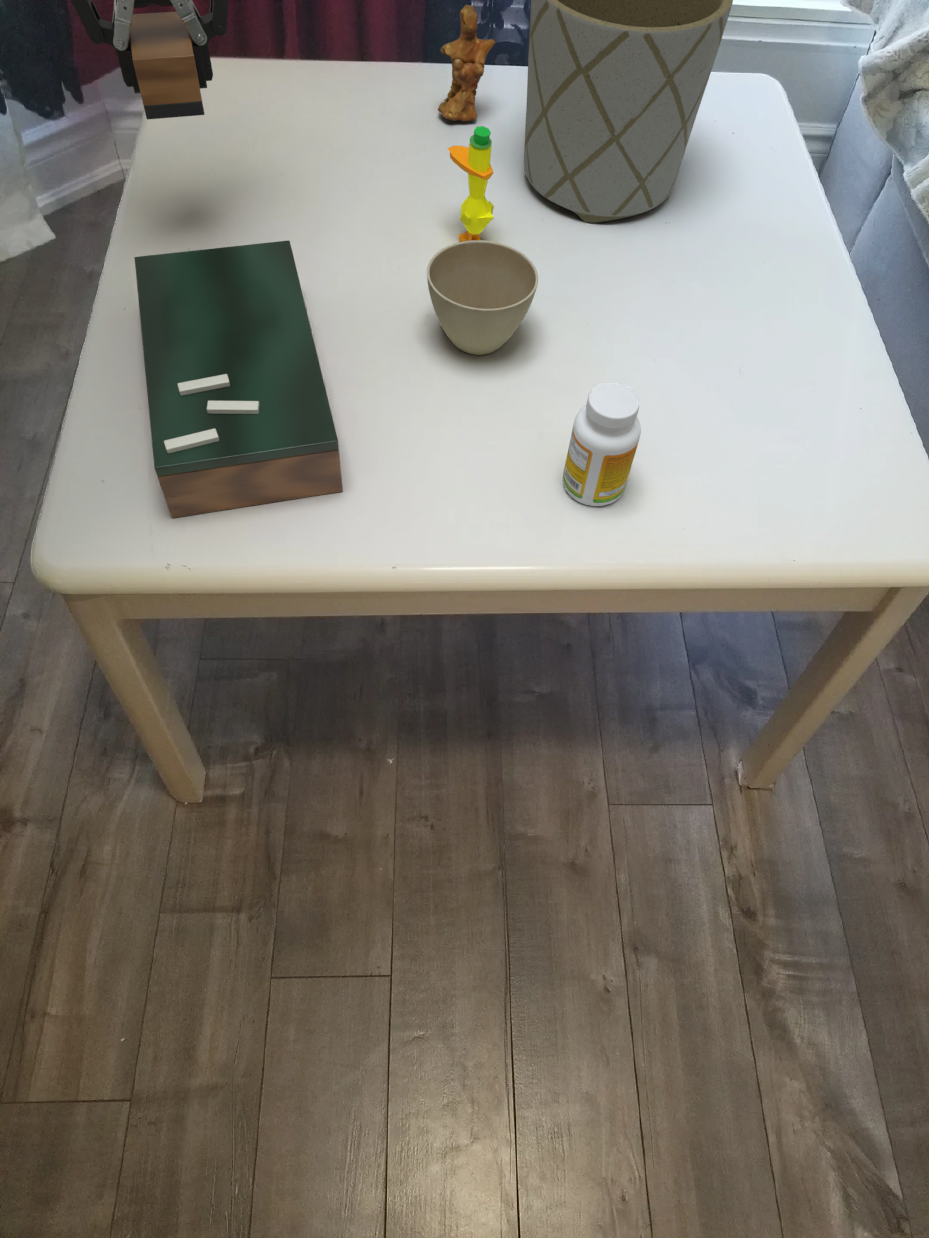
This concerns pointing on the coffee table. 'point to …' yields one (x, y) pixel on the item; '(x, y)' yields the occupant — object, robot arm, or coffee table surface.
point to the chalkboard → (234, 378)
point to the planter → (615, 98)
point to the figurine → (465, 68)
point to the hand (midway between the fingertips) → (170, 86)
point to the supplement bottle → (602, 445)
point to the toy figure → (475, 182)
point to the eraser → (165, 66)
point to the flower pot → (480, 293)
